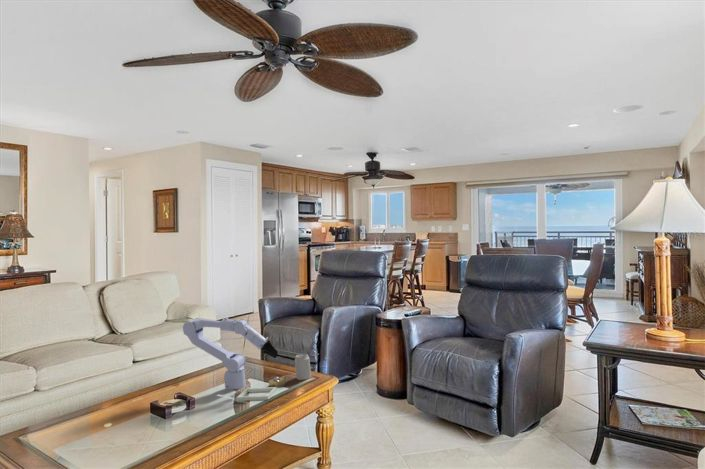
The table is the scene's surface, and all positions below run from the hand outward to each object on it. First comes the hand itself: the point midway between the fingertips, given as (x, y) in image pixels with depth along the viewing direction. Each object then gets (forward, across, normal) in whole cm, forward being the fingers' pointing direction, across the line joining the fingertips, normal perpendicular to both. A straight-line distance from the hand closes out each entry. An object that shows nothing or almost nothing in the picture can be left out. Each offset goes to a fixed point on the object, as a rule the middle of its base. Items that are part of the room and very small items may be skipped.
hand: (276, 355), depth 207 cm
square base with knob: (+9, +6, +10) cm, 15 cm away
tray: (+5, -4, +20) cm, 21 cm away
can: (+17, +10, 0) cm, 20 cm away
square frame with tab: (+9, +7, +9) cm, 14 cm away
